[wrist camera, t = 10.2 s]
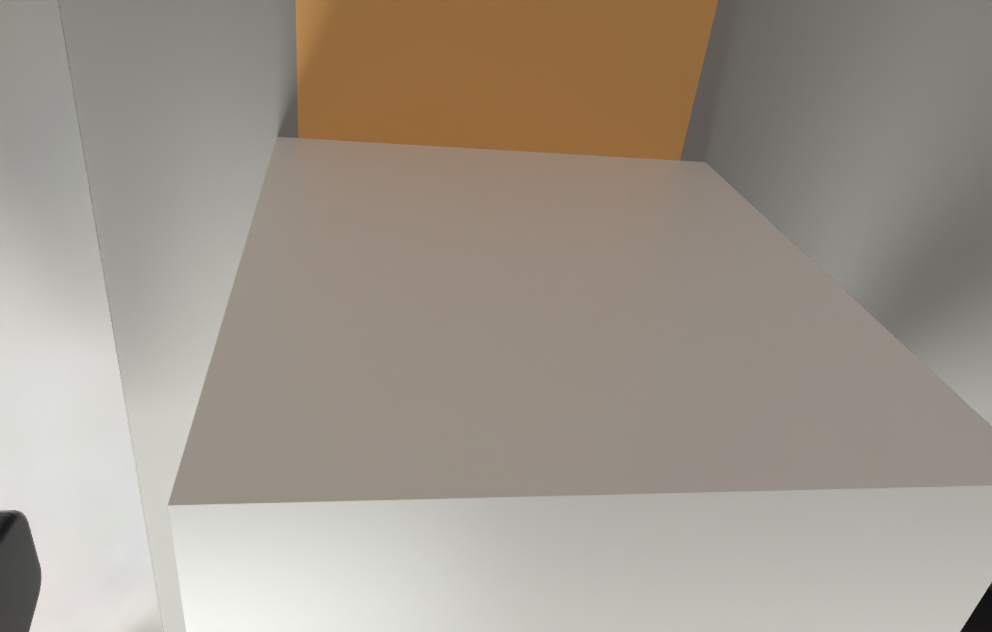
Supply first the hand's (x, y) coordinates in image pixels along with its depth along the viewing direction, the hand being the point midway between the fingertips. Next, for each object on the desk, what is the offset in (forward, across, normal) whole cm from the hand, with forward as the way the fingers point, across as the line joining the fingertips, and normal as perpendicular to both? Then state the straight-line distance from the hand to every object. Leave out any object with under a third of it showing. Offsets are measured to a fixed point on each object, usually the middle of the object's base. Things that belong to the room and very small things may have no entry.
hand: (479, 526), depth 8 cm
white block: (+2, 0, 0) cm, 2 cm away
